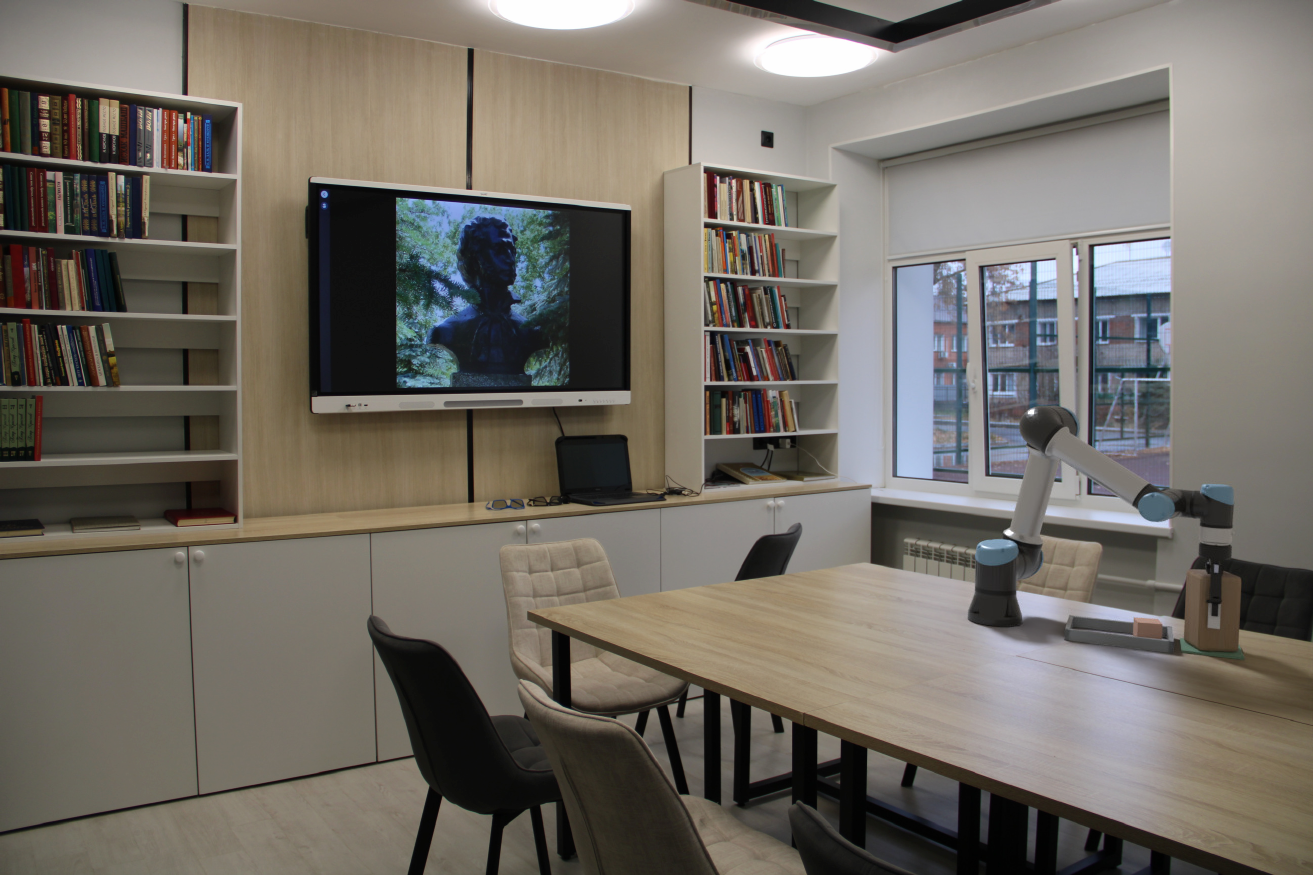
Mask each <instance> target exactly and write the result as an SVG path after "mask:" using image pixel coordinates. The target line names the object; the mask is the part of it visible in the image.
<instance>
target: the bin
mask: <svg viewBox="0 0 1313 875" xmlns="http://www.w3.org/2000/svg"><path fill="white" fill-rule="evenodd" d="M1133 623H1134V621H1127V620H1126V621H1125V620H1116V619H1109V618H1107V619H1106V618H1097V617H1088V616H1079V615H1071V614H1069V615H1068V619H1067V622H1066V625H1065V628H1064V639H1063V640H1064V641H1071V642H1079V643H1087V644H1096V645H1103V646H1104V645H1105V646H1111V647H1120V648H1127V649H1128V648H1129V649H1134V650H1136V649H1137V650H1144V651H1153V652H1159V653H1160V652H1161V653H1166V654H1167V653H1168V654H1174V652H1175V650H1174V649H1175V638H1174V632H1173V631H1174V630H1173V626H1170V625H1162V639H1154V638H1145V637H1137V636H1133ZM1075 628H1081V629H1075ZM1082 628H1083V629H1084V630H1082ZM1085 629H1089V630H1085ZM1093 630H1098V631H1093ZM1101 631H1108V632H1101ZM1110 632H1116V633H1110ZM1118 633H1119V634H1118ZM1120 633H1123V634H1120ZM1124 633H1125V634H1124ZM1127 634H1131V635H1127ZM1163 638H1166V639H1163Z"/></svg>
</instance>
